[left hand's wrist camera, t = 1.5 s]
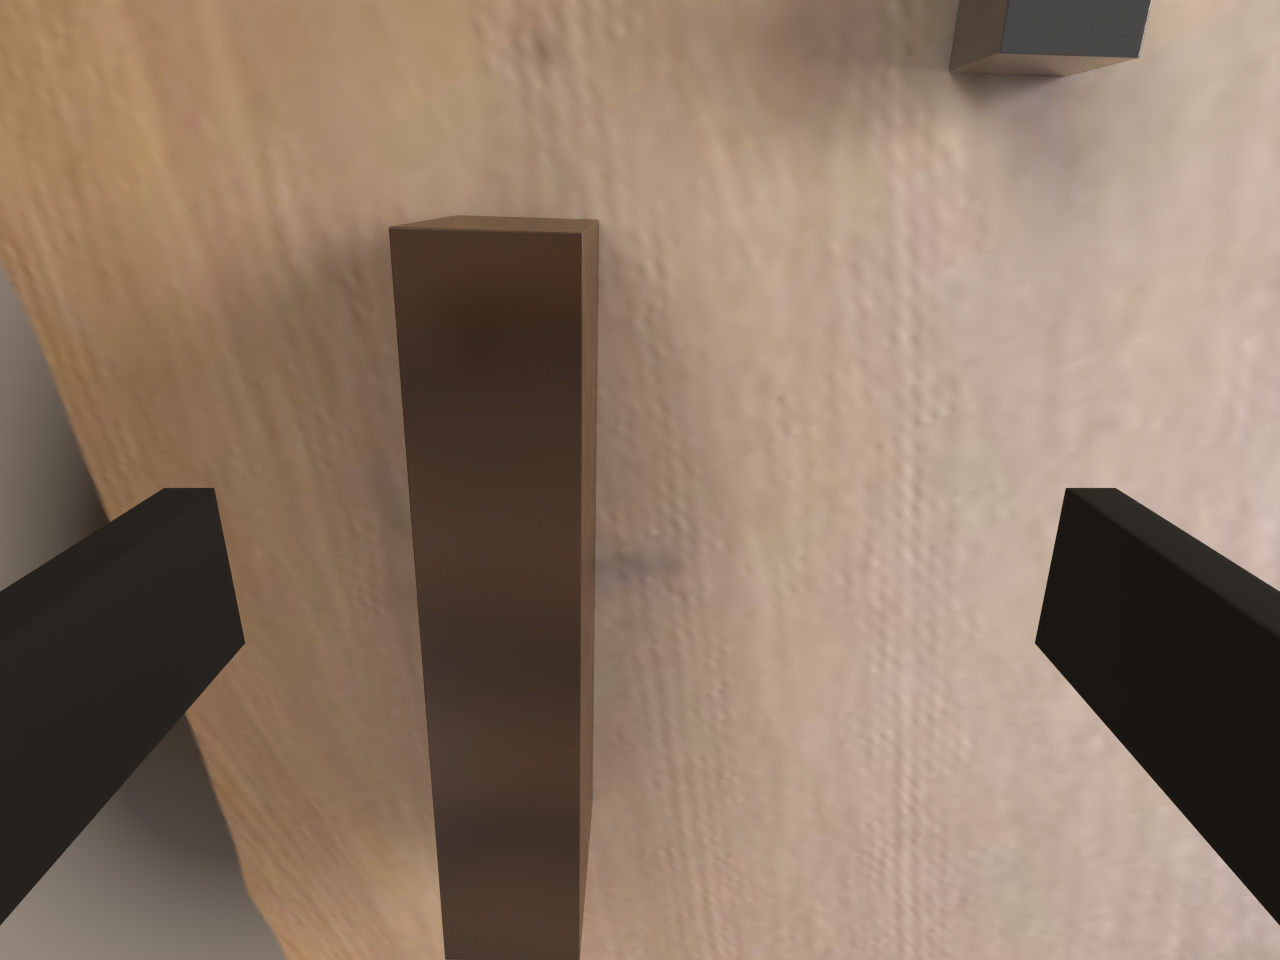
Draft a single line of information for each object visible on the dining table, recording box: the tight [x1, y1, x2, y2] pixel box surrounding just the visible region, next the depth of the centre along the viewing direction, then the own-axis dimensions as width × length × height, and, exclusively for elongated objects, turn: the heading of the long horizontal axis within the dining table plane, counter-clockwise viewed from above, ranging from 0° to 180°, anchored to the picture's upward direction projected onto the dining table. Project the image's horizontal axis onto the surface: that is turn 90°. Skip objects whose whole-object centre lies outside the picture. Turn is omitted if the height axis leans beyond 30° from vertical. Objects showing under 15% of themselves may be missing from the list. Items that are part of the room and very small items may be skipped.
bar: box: [389, 215, 599, 960], centre depth 29 cm, size 26×5×8 cm, turn 178°
